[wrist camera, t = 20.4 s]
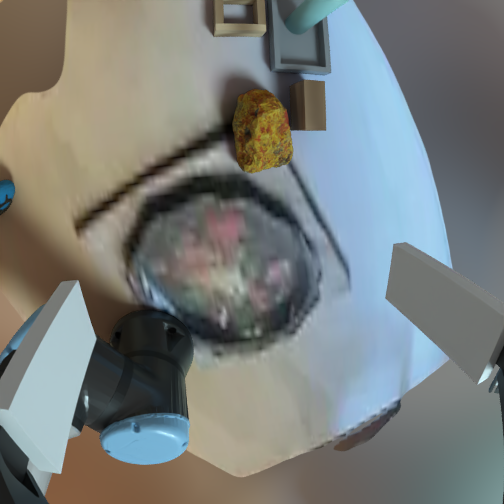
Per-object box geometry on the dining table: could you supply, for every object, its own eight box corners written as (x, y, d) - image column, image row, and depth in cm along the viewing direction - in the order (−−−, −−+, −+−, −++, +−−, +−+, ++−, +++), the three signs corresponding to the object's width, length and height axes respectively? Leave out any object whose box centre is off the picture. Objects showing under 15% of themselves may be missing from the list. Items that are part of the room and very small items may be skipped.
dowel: (285, 33, 37) (323, 0, 24) (284, 14, 36) (320, -24, 23) (308, 35, 38) (352, 6, 25) (306, 16, 36) (348, -18, 24)
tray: (270, 71, 40) (275, 68, 37) (265, -18, 34) (270, -25, 31) (324, 75, 41) (331, 72, 39) (317, -11, 35) (323, -17, 33)
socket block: (213, 36, 36) (215, 30, 33) (213, -2, 33) (215, -10, 31) (261, 37, 37) (266, 31, 35) (259, -1, 35) (264, -8, 32)
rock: (282, 127, 47) (301, 173, 43) (232, 141, 48) (246, 189, 44) (273, 74, 37) (298, 119, 33) (214, 90, 37) (228, 138, 34)
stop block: (290, 130, 43) (305, 129, 38) (289, 85, 41) (303, 79, 35) (309, 130, 44) (326, 130, 39) (308, 87, 41) (324, 81, 36)
